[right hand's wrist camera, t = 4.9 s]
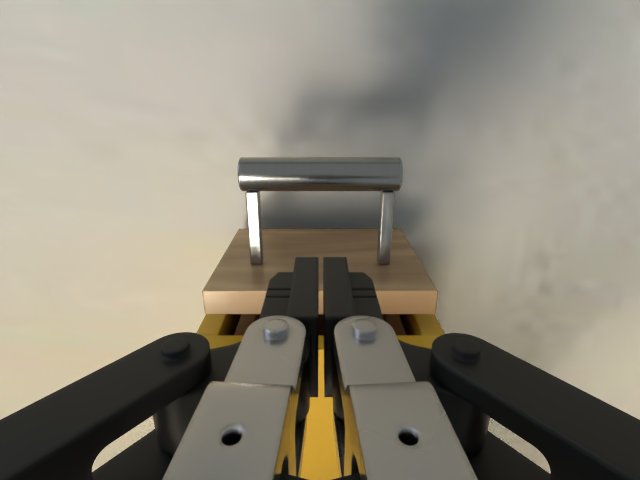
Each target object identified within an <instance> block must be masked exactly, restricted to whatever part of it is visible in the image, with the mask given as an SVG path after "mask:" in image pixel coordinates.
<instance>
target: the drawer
mask: <svg viewBox="0 0 640 480" xmlns="http://www.w3.org/2000/svg"><path fill="white" fill-rule="evenodd" d="M402 175H403V168H402V161H401V159H400V158H240V159H239V163H238V182H239V187H240V189H241V190H242V191H246V207H247V221H248V229H239V230H238V232H237V233H236V235H235V237H234V238H233V240H232V242H231V244H230V245H229V247H228V249H227V250H226V252H225V254H224V255H223V257H222V259H221V260H220V262H219V264H218V265H217V267H216V269H215V271H214V272H213V274H212V276H211V277H210V279H209V281H208V282H207V284H206V286H205V287H204V289H203V291H202V292H203V300H204V308H205V314H241V317H240V320H239V323H238V326H237V328H236V331H235V334H234V335H244V334H245V332H246V330H247V328H248V327H249V326H250V325H251V324H252V323H253V322H255V321H257V320H259V318H260V314H261V310H262V307H263V303H264V299H265V295H266V292H267V288H268V284H269V281H270V279H271V278H272V277H273V276H275V275H276V274H277V273H278V272H293V271H294V264H295V258H296V257H319V335H323V257H346V258H347V264H348V270H349V272H364V273H365V274H366V275H368V276H369V277H370V278H371V279H372V280H373V284H374V287H375V291H376V294H377V298H378V302H379V305H380V309H381V312H382V316H383V319H384V321H385V322H387V323H388V324H389V325H390V326H391V327H392V328H393V330H394V332H395V334H396V335H406V333H405V330H404V327H403V325H402V322H401V319H400V316H399V314H435V312H436V303H437V295H438V290H437V288H436V287H435V285H434V283H433V282H432V280H431V278H430V277H429V275H428V273H427V272H426V270H425V268H424V267H423V265H422V263H421V262H420V260H419V258H418V257H417V255H416V253H415V252H414V250H413V248H412V246H411V245H410V243H409V241H408V240H407V238H406V236H405V235H404V233H403V231H402V230H401V229H392V226H393V211H394V197H395V193H394V191H399V190H400V188H401V184H402ZM260 191H381V192H380V210H379V228H378V229H262V222H261V204H260Z"/></svg>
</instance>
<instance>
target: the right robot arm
mask: <svg viewBox="0 0 640 480" xmlns="http://www.w3.org/2000/svg"><path fill="white" fill-rule="evenodd" d="M323 338H324V397H333V430H334V438H335V446H336V454H337V462H338V471H339V478H336V479H332V480H640V420H639V419H637V418H635V417H633V416H631V415H629V414H627V413H625V412H623V411H621V410H619V409H617V408H615V407H613V406H611V405H609V404H607V403H605V402H604V401H602V400H600V399H598V398H596V397H594V396H592V395H590V394H588V393H586V392H584V391H582V390H580V389H578V388H576V387H574V386H572V385H570V384H568V383H566V382H564V381H562V380H561V379H559V378H557V377H555V376H553V375H551V374H549V373H547V372H545V371H543V370H541V369H539V368H537V367H535V366H533V365H531V364H529V363H527V362H525V361H523V360H521V359H519V358H518V357H516V356H514V355H512V354H510V353H508V352H506V351H504V350H502V349H500V348H498V347H496V346H494V345H492V344H490V343H488V342H486V341H484V340H482V339H480V338H478V337H475V336H471V335H468V334H461V333H449V334H444V335H441V336H439V337H437V338H436V339H435V340H434V341H433V343H432V348H431V349H430V348H425V347H420V346H415V345H411V344H408V343H405V342H403V341H401V340H399V339H397V336H396V334H395V332H394V330H393V328H392V327H391V326H390V325H389V324H388V323H387V322H385V321H384V319H383V316H382V312H381V309H380V305H379V302H378V298H377V294H376V291H375V287H374V284H373V280H372V279H371V278H370V277H369V276H368V275H366V274H365V273H364V272H349V270H348V264H347V258H346V257H323ZM318 342H319V257H296V258H295V264H294V271H293V272H278V273H277V274H276V275H275V276H273V277H272V278H271V279H270V281H269V284H268V288H267V292H266V295H265V299H264V303H263V307H262V310H261V314H260V318H259V320H257V321H255V322H253V323H252V324H251V325H250V326H249V327H248V328H247V330H246V332H245V334H244V336H243V339H242V341H240V342H238V343H235V344H232V345H228V346H223V347H218V348H214V349H210V344H209V341H208V340H207V339H206V338H205V337H204V336H202V335H200V334H196V333H190V332H183V333H175V334H171V335H167V336H165V337H162V338H160V339H158V340H156V341H154V342H152V343H150V344H148V345H146V346H144V347H142V348H140V349H138V350H136V351H134V352H132V353H130V354H128V355H126V356H124V357H123V358H121V359H119V360H117V361H115V362H113V363H111V364H109V365H107V366H105V367H103V368H101V369H99V370H97V371H95V372H93V373H91V374H89V375H87V376H85V377H83V378H81V379H80V380H78V381H76V382H74V383H72V384H70V385H68V386H66V387H64V388H62V389H60V390H58V391H56V392H54V393H52V394H50V395H48V396H46V397H44V398H42V399H40V400H38V401H37V402H35V403H33V404H31V405H29V406H27V407H25V408H23V409H21V410H19V411H17V412H15V413H13V414H11V415H9V416H7V417H5V418H3V419H1V420H0V480H308V479H304V478H301V471H302V462H303V454H304V446H305V438H306V430H307V414H308V412H309V408H310V397H318ZM152 415H153V419H154V424H155V429H154V430H153V431H151V432H150V433H148V434H147V435H146V436H144V437H143V438H141V439H140V440H138V441H137V442H135V443H134V444H133V445H131V446H130V447H128V448H127V449H125V450H124V451H122V452H121V453H120V454H118V455H117V456H115V457H114V458H112V459H111V460H109V461H108V462H107V463H105V464H104V465H102V466H101V467H99V468H98V469H96V470H95V471H94V472H92V465H93V463H94V460H95V459H96V457H97V455H98V454H99V453H100V452H101V451H102V450H103V449H104V448H105V447H106V446H107V445H108V444H110V443H111V442H113V441H114V440H116V439H117V438H119V437H120V436H122V435H123V434H125V433H126V432H128V431H129V430H131V429H133V428H134V427H136V426H137V425H139V424H140V423H142V422H143V421H145V420H146V419H148V418H149V417H151V416H152ZM490 417H491V418H492V419H494V420H495V421H497V422H498V423H500V424H501V425H503V426H504V427H506V428H507V429H509V430H511V431H512V432H514V433H515V434H517V435H518V436H520V437H521V438H523V439H524V440H526V441H527V442H529V443H530V444H532V445H533V446H534V447H536V448H537V449H538V450H539V451H540V452H541V453H542V454H543V455H544V457H545V458H546V460H547V461H548V463H549V466H550V469H551V474H549V473H548V472H546V471H545V470H544V469H542V468H541V467H539V466H538V465H536V464H535V463H533V462H532V461H531V460H529V459H528V458H526V457H525V456H523V455H522V454H520V453H519V452H518V451H516V450H515V449H513V448H512V447H510V446H509V445H507V444H506V443H505V442H503V441H502V440H500V439H499V438H497V437H496V436H494V435H493V434H492V433H490V432H489V431H487V429H488V425H489V420H490Z"/></svg>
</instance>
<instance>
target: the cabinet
mask: <svg viewBox="0 0 640 480" xmlns="http://www.w3.org/2000/svg"><path fill="white" fill-rule="evenodd" d="M399 316H400V319H401V322H402V325H403V327H404V330H405V333H406V335H396V336H397V339H399V340H401V341H403V342H405V343H408V344H411V345H415V346H420V347H425V348H430V349H431V348H432V343H433V341H434V340H435V339H436V338H437V337H439V336H441V335H444V332H443V330H442V328H441V326H440V324H439V322H438V320H437V318H436V316H435V314H399ZM240 317H241V314H206V316H205V317H204V319H203V321H202V323H201V325H200V327H199V329H198V331H197V333H196V334H200V335H202V336H204V337H205V338H206V339H207V340H208V341H209V344H210V349H214V348H218V347H223V346H228V345H232V344H235V343H238V342H240V341H242V339H243V336H244V335H234V334H235V331H236V328H237V326H238V323H239V320H240ZM301 478H304V479H308V480H332V479H336V478H339V471H338V462H337V454H336V446H335V438H334V430H333V397H324V338H323V335H319V342H318V397H310V408H309V412H308V414H307V430H306V438H305V446H304V454H303V462H302V471H301Z"/></svg>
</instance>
